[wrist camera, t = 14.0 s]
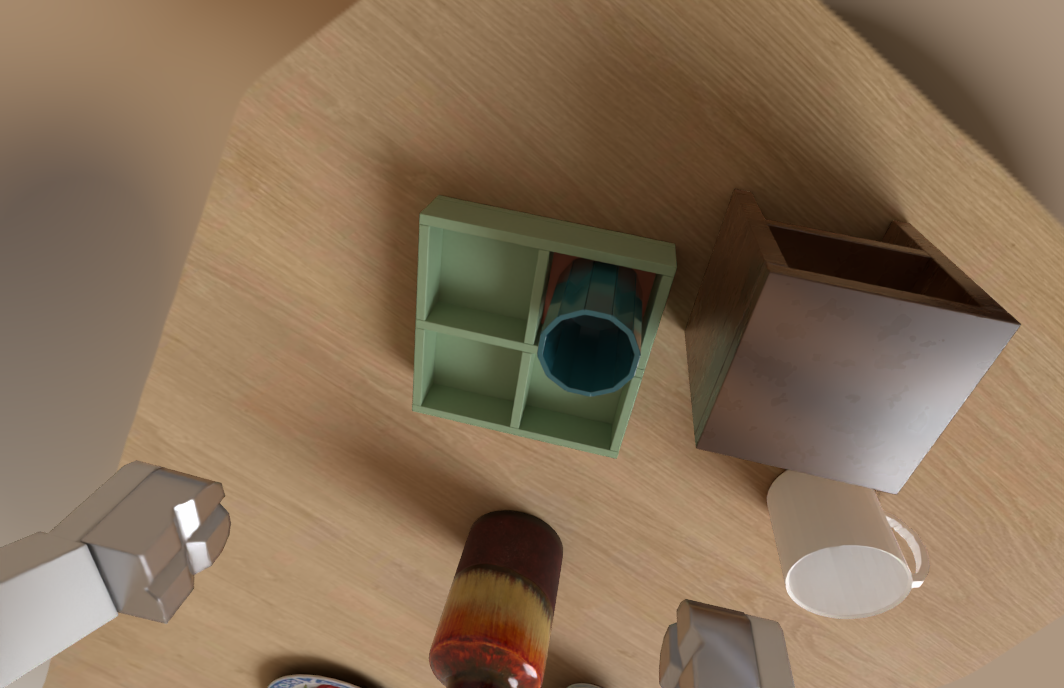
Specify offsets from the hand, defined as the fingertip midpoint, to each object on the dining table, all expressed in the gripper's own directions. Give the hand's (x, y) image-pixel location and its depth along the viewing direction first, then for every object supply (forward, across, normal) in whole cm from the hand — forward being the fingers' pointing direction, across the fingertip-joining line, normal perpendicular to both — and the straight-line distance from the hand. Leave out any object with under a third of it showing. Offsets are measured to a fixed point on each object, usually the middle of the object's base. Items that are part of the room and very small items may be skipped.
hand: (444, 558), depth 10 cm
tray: (+35, +2, +16) cm, 39 cm away
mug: (+35, -28, +28) cm, 53 cm away
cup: (+34, -2, +12) cm, 36 cm away
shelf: (+35, -16, +8) cm, 39 cm away
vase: (+35, 0, +45) cm, 57 cm away
